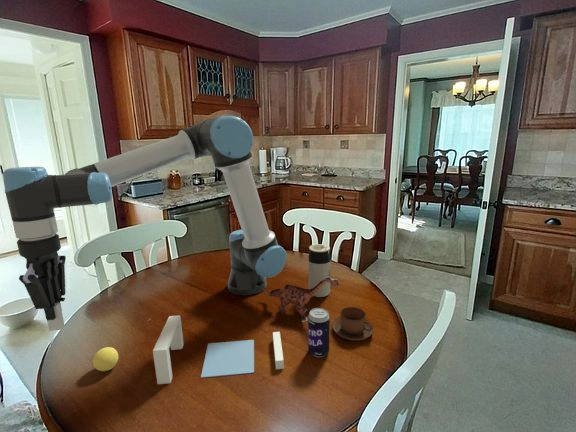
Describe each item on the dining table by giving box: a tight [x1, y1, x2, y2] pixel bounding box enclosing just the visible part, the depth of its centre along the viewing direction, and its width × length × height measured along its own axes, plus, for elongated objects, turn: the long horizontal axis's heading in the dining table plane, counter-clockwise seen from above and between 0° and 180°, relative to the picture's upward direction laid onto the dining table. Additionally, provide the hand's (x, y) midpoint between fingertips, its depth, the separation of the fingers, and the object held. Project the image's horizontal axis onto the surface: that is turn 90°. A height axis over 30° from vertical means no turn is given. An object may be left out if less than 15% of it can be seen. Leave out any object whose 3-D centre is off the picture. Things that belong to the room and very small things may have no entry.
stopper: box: [272, 331, 285, 370], centre depth 84 cm, size 2×12×2 cm, turn 6°
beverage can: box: [307, 307, 331, 358], centre depth 83 cm, size 6×6×12 cm
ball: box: [92, 346, 119, 372], centre depth 79 cm, size 6×6×6 cm
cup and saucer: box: [331, 306, 374, 341], centre depth 93 cm, size 12×12×6 cm
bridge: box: [152, 315, 185, 385], centre depth 81 cm, size 3×15×9 cm, turn 6°
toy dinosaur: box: [263, 277, 340, 323], centre depth 102 cm, size 8×30×15 cm, turn 63°
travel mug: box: [308, 243, 331, 298], centre depth 115 cm, size 8×8×18 cm
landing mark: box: [200, 339, 255, 379], centre depth 83 cm, size 13×13×1 cm
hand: (57, 328), depth 76 cm, fingers closed
